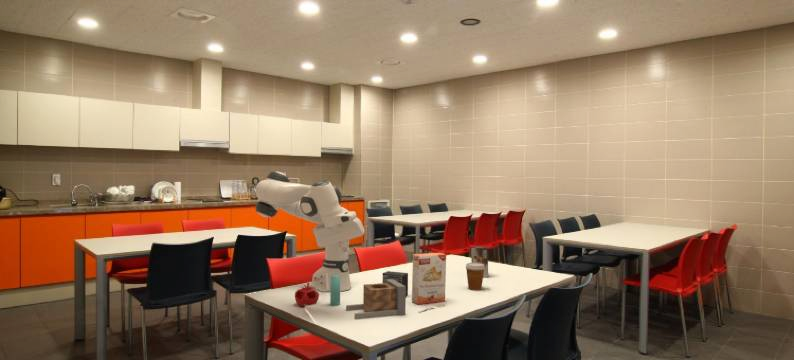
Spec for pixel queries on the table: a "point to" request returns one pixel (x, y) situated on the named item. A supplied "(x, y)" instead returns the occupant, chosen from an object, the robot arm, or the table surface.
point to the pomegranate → (306, 296)
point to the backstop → (398, 311)
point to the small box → (397, 278)
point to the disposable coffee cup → (475, 275)
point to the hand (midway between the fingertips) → (346, 251)
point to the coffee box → (480, 257)
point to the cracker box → (428, 278)
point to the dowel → (335, 290)
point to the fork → (434, 306)
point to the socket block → (379, 297)
